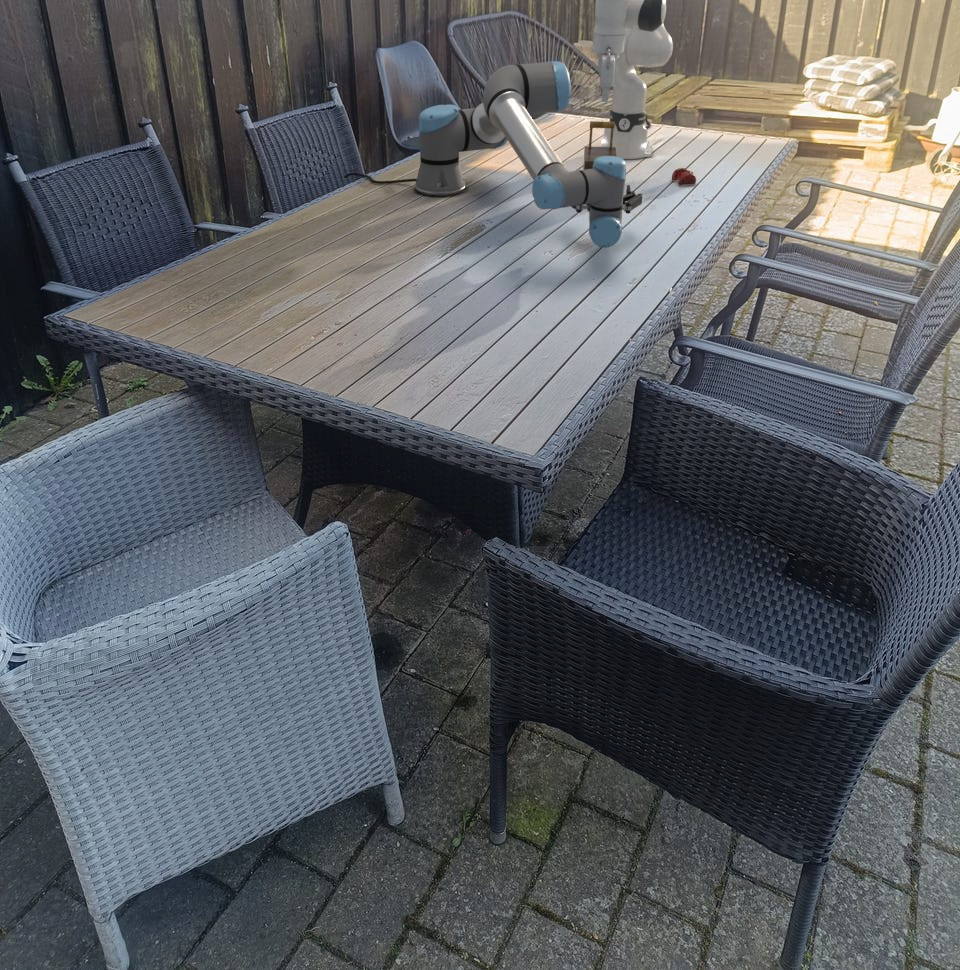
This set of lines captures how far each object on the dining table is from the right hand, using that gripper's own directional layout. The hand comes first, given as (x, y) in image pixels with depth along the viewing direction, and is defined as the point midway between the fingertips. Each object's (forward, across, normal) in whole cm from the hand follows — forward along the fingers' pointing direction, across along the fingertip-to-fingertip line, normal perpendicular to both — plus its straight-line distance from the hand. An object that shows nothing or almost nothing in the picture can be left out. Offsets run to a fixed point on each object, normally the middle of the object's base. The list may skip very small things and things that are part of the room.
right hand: (604, 98), depth 245 cm
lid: (+15, -6, 0) cm, 17 cm away
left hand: (+16, -35, 0) cm, 38 cm away
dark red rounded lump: (+26, +8, -27) cm, 38 cm away
